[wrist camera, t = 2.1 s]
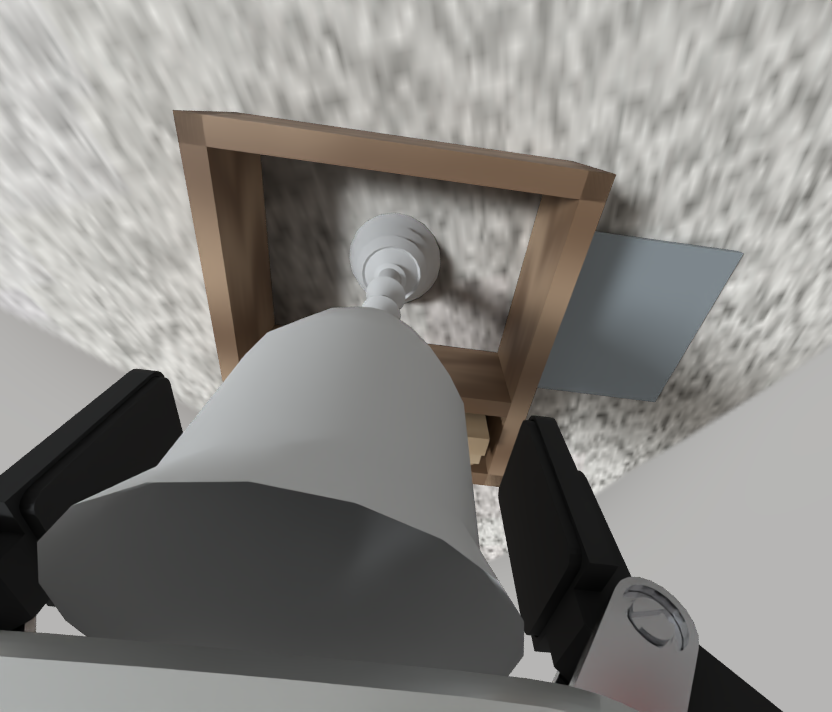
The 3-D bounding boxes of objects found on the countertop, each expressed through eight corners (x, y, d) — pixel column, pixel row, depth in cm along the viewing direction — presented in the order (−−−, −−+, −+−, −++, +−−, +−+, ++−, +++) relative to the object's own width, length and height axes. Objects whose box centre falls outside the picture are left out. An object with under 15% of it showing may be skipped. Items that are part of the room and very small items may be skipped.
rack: (235, 112, 18) (172, 110, 13) (573, 161, 18) (616, 174, 14) (267, 403, 27) (236, 456, 23) (489, 430, 27) (500, 487, 23)
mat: (572, 228, 20) (574, 230, 19) (738, 251, 20) (743, 253, 20) (520, 382, 25) (521, 385, 25) (652, 398, 25) (655, 402, 25)
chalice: (305, 237, 20) (-64, 583, 5) (410, 161, 18) (300, 374, 3) (383, 338, 24) (294, 736, 8) (480, 283, 22) (597, 683, 6)
